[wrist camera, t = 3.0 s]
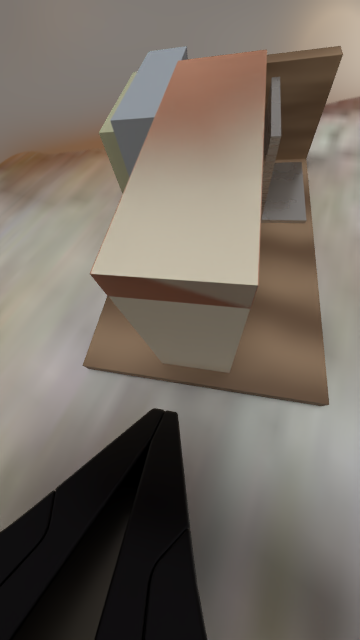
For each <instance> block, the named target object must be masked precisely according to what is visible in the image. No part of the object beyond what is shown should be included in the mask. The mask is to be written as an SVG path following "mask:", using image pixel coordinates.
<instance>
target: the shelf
mask: <svg viewBox="0 0 360 640" xmlns="http://www.w3.org/2000/svg"><path fill="white" fill-rule="evenodd" d="M342 55H343V53H342V50H341V46H337V47H328V48H320V49H312V50H304V51H295V52H287V53H279V54H270V55H267V64H266V92H265V114H266V108H267V102H268V97H269V91H270V85H271V79H272V77H280V98H281V139H280V143H279V148H278V152H277V156H276V160H275V163H281V162H302V171H303V184H304V196H305V209H306V222H305V223H261V231H260V259H259V286H258V289H257V292H256V295H255V298H254V301H253V304H252V307H251V309H250V311H249V314H248V317H247V320H246V323H245V326H244V329H243V332H242V335H241V338H240V341H239V345H238V348H237V351H236V354H235V357H234V360H233V363H232V366H231V369H230V372H229V373H227V372H220V371H213V370H206V369H199V368H192V367H185V366H178V365H171V364H165V363H162V362H161V361H160V360H159V358H158V357H157V356H156V355H155V353H154V352H153V351H152V350H151V348H150V347H149V346H148V345H147V343H146V342H145V341H144V340H143V338H142V337H141V336H140V335H139V333H138V332H137V331H136V330H135V329H134V327H133V326H132V325H131V324H130V322H129V321H128V320H127V319H126V317H125V316H124V315H123V314H122V312H121V311H120V310H119V309H118V307H117V306H116V305H115V304H114V302H113V301H112V300H111V299H110V297H109V296H107V298H106V301H105V304H104V307H103V310H102V313H101V315H100V318H99V321H98V324H97V327H96V329H95V332H94V335H93V338H92V341H91V343H90V346H89V349H88V352H87V355H86V357H85V360H84V363H83V366H85V367H87V368H89V369H94V370H100V371H107V372H113V373H119V374H125V375H131V376H138V377H144V378H150V379H156V380H163V381H169V382H175V383H181V384H187V385H194V386H200V387H206V388H212V389H219V390H225V391H231V392H237V393H243V394H250V395H256V396H262V397H268V398H275V399H281V400H287V401H293V402H299V403H306V404H312V405H318V406H325V405H329V398H328V387H327V377H326V366H325V355H324V345H323V334H322V323H321V312H320V302H319V291H318V280H317V270H316V259H315V248H314V238H313V227H312V216H311V205H310V195H309V184H308V173H307V163H306V158H307V155H308V152H309V149H310V146H311V144H312V141H313V138H314V135H315V132H316V129H317V127H318V124H319V121H320V118H321V115H322V112H323V109H324V107H325V104H326V101H327V98H328V95H329V92H330V90H331V87H332V84H333V81H334V78H335V75H336V72H337V70H338V67H339V64H340V61H341V58H342Z"/></svg>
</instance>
